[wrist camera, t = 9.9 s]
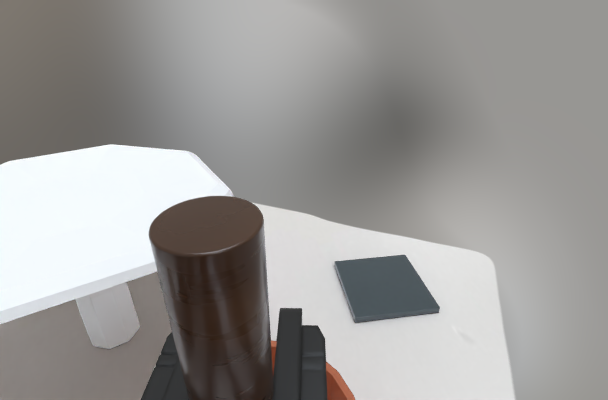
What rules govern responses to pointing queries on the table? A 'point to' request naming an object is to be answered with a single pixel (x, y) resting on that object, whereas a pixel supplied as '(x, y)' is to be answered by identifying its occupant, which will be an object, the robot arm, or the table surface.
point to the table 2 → (89, 229)
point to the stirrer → (216, 295)
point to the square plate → (384, 288)
